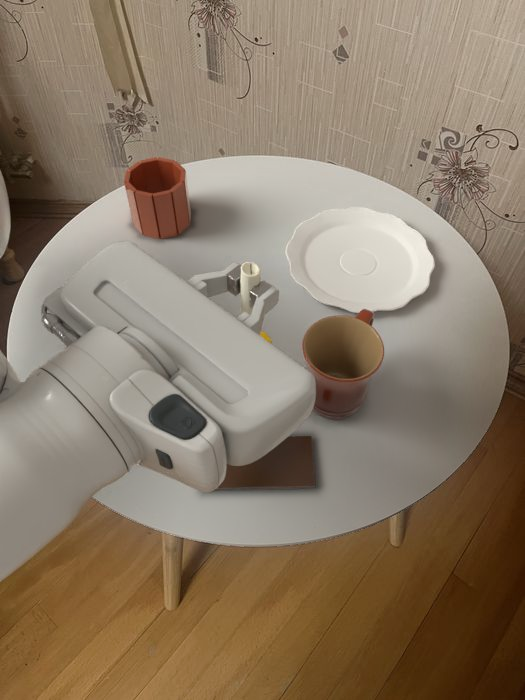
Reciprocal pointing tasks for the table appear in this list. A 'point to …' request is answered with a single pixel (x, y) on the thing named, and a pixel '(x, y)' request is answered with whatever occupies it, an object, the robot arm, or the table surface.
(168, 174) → the holder cup
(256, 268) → the candle
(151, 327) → the robot arm
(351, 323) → the mug
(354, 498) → the table surface
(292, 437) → the walnut mat
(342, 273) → the plate
